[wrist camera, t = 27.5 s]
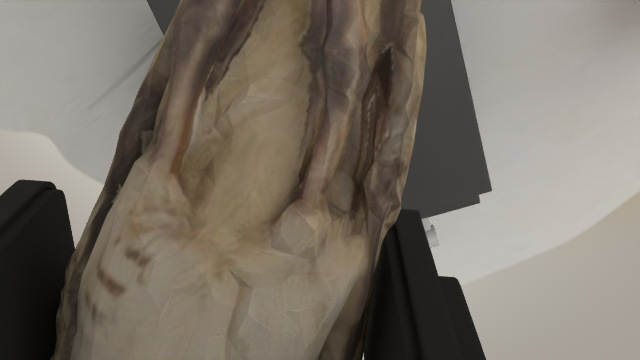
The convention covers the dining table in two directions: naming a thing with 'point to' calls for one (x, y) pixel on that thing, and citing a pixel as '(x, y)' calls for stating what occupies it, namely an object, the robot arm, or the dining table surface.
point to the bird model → (251, 186)
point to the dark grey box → (429, 116)
